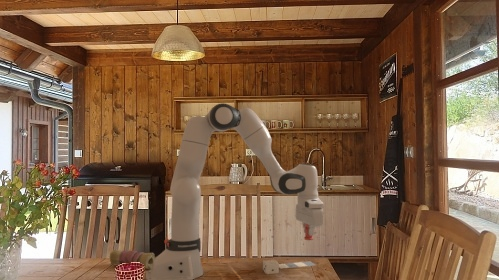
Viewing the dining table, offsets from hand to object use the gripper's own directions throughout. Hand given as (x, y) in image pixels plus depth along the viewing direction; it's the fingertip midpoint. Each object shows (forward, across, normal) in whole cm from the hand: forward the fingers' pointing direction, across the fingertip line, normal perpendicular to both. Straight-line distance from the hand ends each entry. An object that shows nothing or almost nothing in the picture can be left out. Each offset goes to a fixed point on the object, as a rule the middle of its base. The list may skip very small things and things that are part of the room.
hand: (308, 234), depth 163 cm
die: (+11, +3, -19) cm, 22 cm away
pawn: (+2, 0, 0) cm, 2 cm away
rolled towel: (+13, -22, -72) cm, 76 cm away
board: (+13, 0, -6) cm, 15 cm away
